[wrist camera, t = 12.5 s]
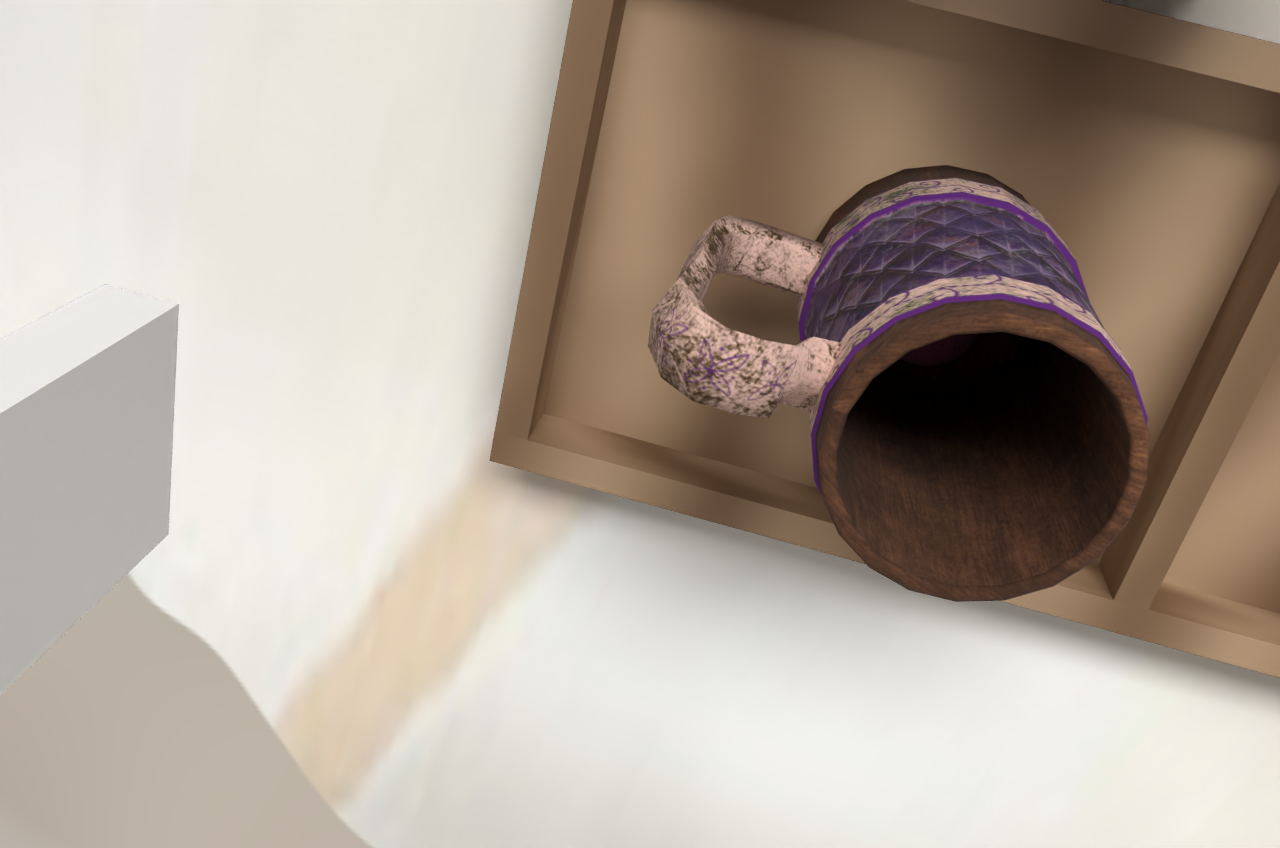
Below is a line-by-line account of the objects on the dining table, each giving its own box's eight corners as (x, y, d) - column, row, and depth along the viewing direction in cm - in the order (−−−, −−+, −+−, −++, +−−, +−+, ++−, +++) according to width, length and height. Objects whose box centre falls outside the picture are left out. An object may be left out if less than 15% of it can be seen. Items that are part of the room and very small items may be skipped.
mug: (1114, 224, 29) (1278, 393, 19) (979, 442, 32) (1053, 696, 22) (763, 67, 29) (722, 144, 18) (661, 301, 32) (574, 485, 21)
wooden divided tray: (515, 420, 36) (489, 460, 33) (617, -118, 29) (595, -123, 26) (1708, 745, 34) (1785, 816, 31) (2119, 249, 27) (2264, 284, 24)
